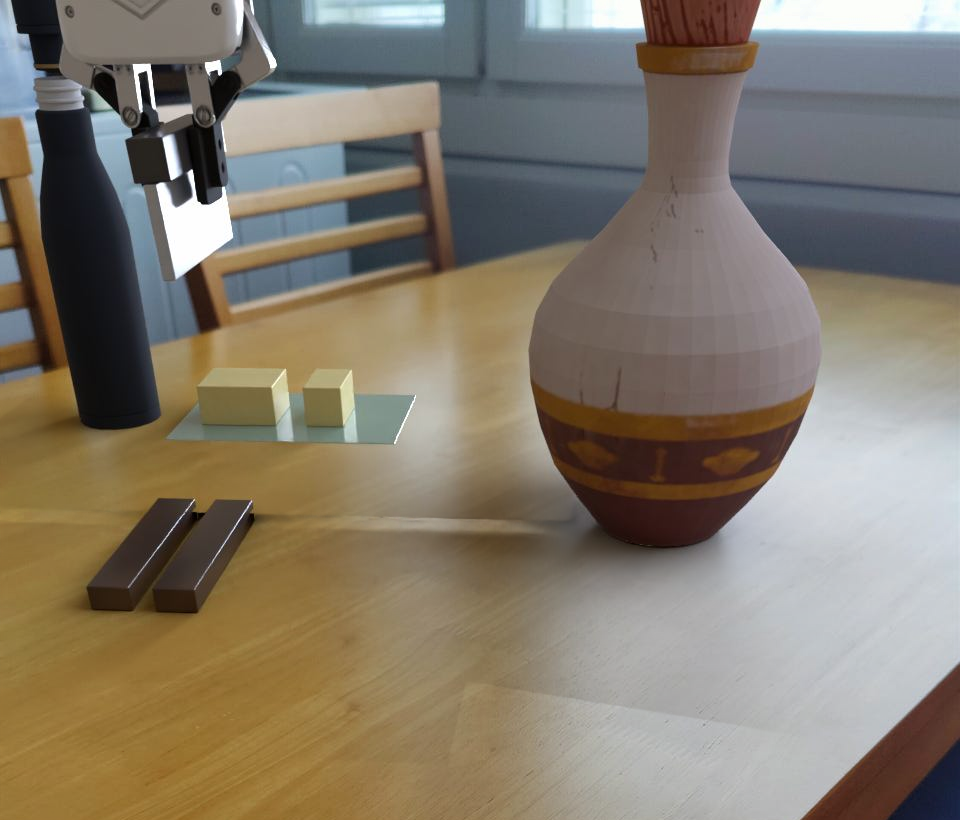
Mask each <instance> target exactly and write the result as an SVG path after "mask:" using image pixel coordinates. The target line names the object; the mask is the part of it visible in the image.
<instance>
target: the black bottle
mask: <svg viewBox="0 0 960 820" xmlns="http://www.w3.org/2000/svg"><path fill="white" fill-rule="evenodd" d="M10 2H11V7H12V13H13V18H14V22H15V28H16V32H17V34H20V35H28V40H29V45H30V50H31V55H32V59H33V63H32V64H33V66H32V67H33V68H34V69H35V71H38V72H59V71H60V69H59V62H60V56H61V50H62V44H63V37H62V33H61V28H60V23H59V18H58V12H57V6H56V0H10ZM33 83H34V85H33V86H32V90H33V91H34V92H35V94H36V97H35V102H36V103H37V104H38V108H37V109H35V112H34V116H35V122H36V127H37V130H38V135H39V141H40V146H41V151H42V155H43V158H42V168H41V177H40V178H41V179H40V190H39V191H40V193H39V218H40V219H39V220H40V221H39V223H40V238H41V242H42V247H43V252H44V255H45V256H44V257H45V262H46V266H47V270H48V275H49V279H50V284H51V289H52V294H53V298H54V303H55V307H56V312H57V317H58V322H59V327H60V330H61V332H60V333H61V336H62V342H63V346H64V350H65V355H66V359H67V364H68V368H69V373H70V378H71V382H72V388H73V392H74V396H75V401H76V406H77V407H76V408H77V411H78V415H79V420H80V423H81V424H82V425H83V426H84V427H86V428H90V429H95V430H101V431H117V430H118V431H119V430H129V429H133V428H134V429H135V428H139V427H143V426H146V425H150V424H152V423H154V422H156V421H157V420H159V418H160V417H161V416H162V409H161V404H160V403H161V402H160V398H159V392H158V386H157V381H156V374H155V370H154V364H153V363H154V362H153V358H152V351H151V347H150V346H151V345H150V340H149V335H148V328H147V324H146V317H145V311H144V306H143V301H142V300H143V299H142V295H141V288H140V283H139V282H140V281H139V276H138V271H137V265H136V259H135V254H134V247H133V242H132V236H131V231H130V230H131V229H130V227H129V223H128V221H127V218H126V215H125V211H124V209H123V206H122V203H121V200H120V198H119V194H118V192H117V190H116V188H115V185H114V184H113V182H112V179H111V177H110V175H109V173H108V171H107V169H106V167H105V165H104V163H103V161H102V158H101V157H100V155H99V153H98V149H97V143H96V137H95V133H94V127H93V121H92V115H91V111H90V108H89V107H87V106H84V100H85V96H84V95H83V94H82V89H83V86H82V85H80V84H78V83H76V82H74V81H72V80H70V79H68V78H66V77H65V76H63V75H53V76H41V77H35V78H33Z"/></svg>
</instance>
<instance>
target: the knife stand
mask: <svg viewBox="0 0 960 820" xmlns="http://www.w3.org/2000/svg"><path fill="white" fill-rule="evenodd" d="M253 502H254V501H253V500H252V499H226V498H225V499H221V498H216V499H214V500H213V502H212V503H211V505H210V507H209V508H208V509H207V511H206V512H205V514H204V515H203V516H202V517H201V519H200V521H199V522H198V524H196V523H197V521H198V520H199V515H198V511H194V510H195V509H196V507H197V504H196V499H195V498H179V497H178V498H177V497H173V498H172V497H158V498H157V499H156V500H155V501H154V503H153V504H152V505H151V506H150V507H149V509H148V510H147V511H146V513H145V514H144V515H143V516H142V518H141V519H140V520H139V521H138V522H137V523H136V524H135V526H134V527H133V529H132V530H131V531H130V532H129V533H128V535H126V537H125V538H124V540H123V541H122V542H121V543H120V544H119V546H118V547H117V548H116V549H115V550H114V552H113V553H112V554H111V555H110V557H109V558H108V559H107V560H106V561H105V563H104V564H103V566H101V568H100V569H99V570H98V571H97V573H95V575H94V576H93V578H92V579H91V580H90V581H89V582H88V584H87V585H86V592H87V596H88V601H89V606H90V609H91V610H103V611H104V610H105V611H106V610H107V611H134V609H135V608H136V606H137V605H138V604H139V603H140V601H141V599H142V598H143V596H144V595H145V594H146V592H147V591H148V590H149V588H150V587H151V585H152V584H153V582H155V580H156V579H157V577H158V576H159V574H160V573H161V572H162V570H163V569H164V568H165V566H166V565H167V563H168V562H169V560H170V559H171V558H172V556H173V555H174V553H175V552H176V551H177V550H178V548H179V546H180V545H181V544H182V542H183V541H184V540H185V539H186V540H185V541H184V543H183V544H182V546H181V547H180V549H179V550H178V551H177V553H176V554H175V555H174V557H173V558H172V559H171V561H170V562H169V564H168V565H167V567H166V568H165V570H164V571H163V572H162V573H161V575H160V577H159V578H158V580H157V581H156V582H155V583H154V585H153V586H152V588H151V591H152V596H153V602H154V607H155V611H156V612H171V613H172V612H173V613H174V612H175V613H199V611H200V610H201V608H202V606H203V605H204V604H205V602H206V601H207V598H208V597H209V596H210V595H211V592H212V590H213V589H214V587H215V586H216V584H217V582H218V581H219V580H220V578H221V576H222V574H223V572H224V571H225V570H226V568H227V566H228V565H229V563H231V562H230V561H231V560H232V558H233V557H234V556H235V554H236V552H237V550H239V547H240V546H241V544H242V542H243V541H244V539H245V537H246V536H247V535H248V532H249V531H250V529H251V528H252V526H253V525H254V523H255V522H256V516H255V513H254V512H252V511H253V509H254V503H253ZM195 524H196V526H195ZM193 527H195V528H194V529H193V530H192V528H193ZM191 530H192V532H191V533H190V535H189V536H188V537H187V535H188V534H189V532H190V531H191ZM186 537H187V538H186Z"/></svg>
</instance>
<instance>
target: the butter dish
mask: <svg viewBox="0 0 960 820" xmlns="http://www.w3.org/2000/svg"><path fill="white" fill-rule="evenodd" d="M288 393H289V402H290V406H289V408H288V409H287V411H286V412H285V413H284V415H283V416H282V418H281V419H280V421H279V422H278V424H277V425H276V426H258V425H203V424H202V419H201V412H200V406H199V401H198V402H196V404H195V405H194V406H193V407H192V408H191V409H190V410H189V411H188V413H187V414H186V415H185V416H184V417H183V418H182V420H181V421H180V422H179V423H178V424H177V425H176V426H175V427H174V429H173V430H171V432H170V433H169V434H168V435H167V436H166V437H165V438H164V441H198V442H203V441H204V442H251V443H253V442H256V443H301V444H303V443H306V444H307V443H308V444H309V443H311V444H314V443H315V444H359V445H360V444H361V445H362V444H365V445H369V444H370V445H395V444H396V443H397V441H398V438H399V435H400V433H401V431H402V428H403V426H404V424H405V422H406V419H407V417H408V416H409V413H410V410H411V408H412V406H413V405H414V402H415V399H416V398H417V394H379V393H376V394H375V393H373V394H371V393H369V394H368V393H354V404H355V407H354V409H353V411H352V412H351V414H350V416H349V418H348V420H347V421H346V423H345V425H344V427H313V426H306V419H305V409H304V399H303V392H301V393H300V392H288Z"/></svg>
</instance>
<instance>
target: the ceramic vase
mask: <svg viewBox="0 0 960 820" xmlns="http://www.w3.org/2000/svg"><path fill="white" fill-rule="evenodd" d="M639 1H640V2H639V3H640V8H641V14H642V20H643V26H644V33H645V37H646V41H642V42H641V41H640V42H637V43H635V52H636V61H637V68H638V69H640V70H642V74H643V75H642V76H643V81H644V88H645V96H646V106H647V107H646V109H647V117H648V119H647V120H648V122H647V123H648V124H647V127H648V128H647V131H648V133H647V148H648V149H647V162H646V163H647V164H646V171H645V173H644V176H643V179H642V181H641V184H640V186H639V187H638V188H637V189H636V190H635V191H634V193H633V194H632V195H631V196H630V197H629V198H628V199H627V201H626V202H625V203H624V204H623V206H622V207H620V209H619V210H618V211H617V212H616V213H615V215H614V216H613V217H612V218H611V219H610V220H609V222H608V223H607V224H606V225H605V226H604V227H603V229H602V230H600V232H599V233H598V234H597V235H596V236H594V237H593V239H592V240H590V241H589V242H588V243H587V244H586V245H585V246H584V247H583V248H582V249H581V250H580V251H579V252H578V253H577V254H576V255H575V256H574V257H573V258H572V259H571V261H570V262H568V264H567V265H566V266H565V267H564V268H563V269H561V271H560V272H559V274H558V275H556V277H555V278H554V279H553V280H552V281H551V283H550V285H549V287H548V288H547V290H546V292H545V294H544V296H543V297H542V300H541V301H540V303H539V305H538V307H537V309H536V310H535V314H534V318H533V322H532V323H533V324H532V329H531V334H530V339H529V340H530V341H529V345H528V349H527V350H528V365H529V368H528V369H529V381H530V382H529V383H530V388H531V392H532V396H533V400H534V405H535V410H536V414H537V419H538V423H539V426H540V430H541V433H542V435H543V439H544V441H545V443H546V446H547V449H548V451H549V454H550V457H551V460H552V462H553V465H554V466H555V467H556V469H557V470H558V472H559V474H560V475H561V476H562V477H563V479H564V481H565V482H566V483H567V485H568V486H569V488H570V489H571V490H572V492H573V493H574V495H575V496H576V498H577V499H578V500H579V502H580V503H581V504H582V505H583V506H584V508H585V509H586V510H587V512H588V513H589V514H590V515H591V516H592V518H593V519H594V520H595V522H596V523H597V524H598V525H599V527H600V528H601V529H602V530H603V531H604V532H605V533H606V534H608V535H609V536H611V537H613V538H616V539H618V540H620V541H623V542H626V541H627V542H626V543H629V542H630V544H633V543H636V544H635V545H638V544H642V545H641V546H644V545H650V546H649V547H654V546H675V547H683V546H682V545H684V546H687V545H688V546H689V545H693V544H698V543H701V542H703V541H706V540H708V539H710V538H713V537H714V536H715V535H717V533H718V532H719V531H720V530H722V529H723V527H724V526H726V525H727V524H728V523H729V522H730V521H731V520H732V519H733V518H734V517H735V516H736V515H738V513H739V512H740V511H741V510H743V508H744V507H745V506H747V505H748V503H750V501H751V500H753V498H754V497H755V496H756V495H757V494H758V493H759V492H760V491H761V489H762V488H764V486H765V485H766V484H767V483H768V482H769V481H770V480H771V479H772V477H773V476H775V474H776V472H777V471H778V470H779V468H780V466H781V464H782V462H783V461H784V458H785V457H786V455H787V453H788V451H789V449H790V448H791V446H792V444H793V442H794V441H795V439H796V437H797V436H798V433H799V431H800V429H801V426H802V423H803V421H804V418H805V415H806V413H807V410H808V407H809V405H810V403H811V400H812V398H813V395H814V391H815V387H816V384H817V383H816V382H817V378H818V375H819V369H820V364H821V361H822V329H821V328H822V327H821V326H822V325H821V318H820V315H819V312H818V310H817V308H816V305H815V302H814V300H813V297H812V294H811V293H810V289H809V287H808V285H807V283H806V282H805V280H804V279H803V278H802V276H801V275H800V274H799V272H798V271H797V270H796V268H795V267H794V266H793V265H792V263H791V262H790V260H789V259H788V258H787V257H786V256H785V255H784V254H783V252H782V251H781V249H779V248H778V247H777V245H776V244H775V243H774V242H773V241H772V240H771V239H770V237H769V236H768V235H767V234H766V233H765V231H764V230H763V229H762V228H761V226H760V225H759V223H758V222H757V220H756V218H755V217H754V216H753V214H752V213H751V211H749V209H748V208H747V206H746V205H745V204H744V201H743V200H742V199H741V197H740V196H739V195H738V193H737V192H736V190H735V189H734V188H733V186H732V181H731V177H730V173H729V167H730V166H729V162H730V151H731V144H732V138H733V133H734V131H733V130H734V125H735V119H736V114H737V110H738V106H739V102H740V99H741V95H742V91H743V87H744V84H745V81H746V78H747V75H748V72H749V70H750V69H752V68H754V65H755V62H756V58H757V55H758V51H759V47H760V42H758V41H752V40H750V38H751V34H752V30H753V27H754V23H755V21H756V18H757V15H758V12H759V9H760V5H761V2H762V0H639ZM679 545H680V546H679Z"/></svg>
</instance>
